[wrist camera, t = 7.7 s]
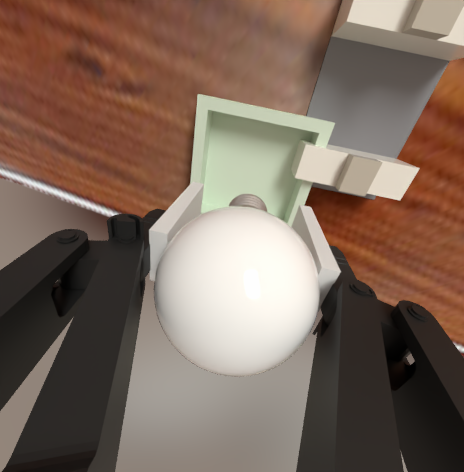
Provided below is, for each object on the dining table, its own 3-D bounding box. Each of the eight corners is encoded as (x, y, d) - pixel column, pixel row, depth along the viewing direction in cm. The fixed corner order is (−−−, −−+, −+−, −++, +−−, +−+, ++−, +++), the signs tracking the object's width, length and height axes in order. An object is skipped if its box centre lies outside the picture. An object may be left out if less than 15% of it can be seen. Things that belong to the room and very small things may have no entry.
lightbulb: (226, 255, 18) (186, 419, 9) (187, 184, 16) (70, 309, 6) (305, 231, 16) (362, 407, 7) (276, 145, 14) (305, 238, 4)
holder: (285, 178, 26) (291, 197, 21) (352, -39, 17) (391, -98, 12) (371, 197, 26) (397, 220, 21) (482, -12, 17) (576, -60, 12)
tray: (194, 206, 28) (187, 217, 26) (205, 95, 22) (197, 94, 19) (288, 226, 28) (291, 239, 25) (326, 120, 22) (335, 123, 19)
